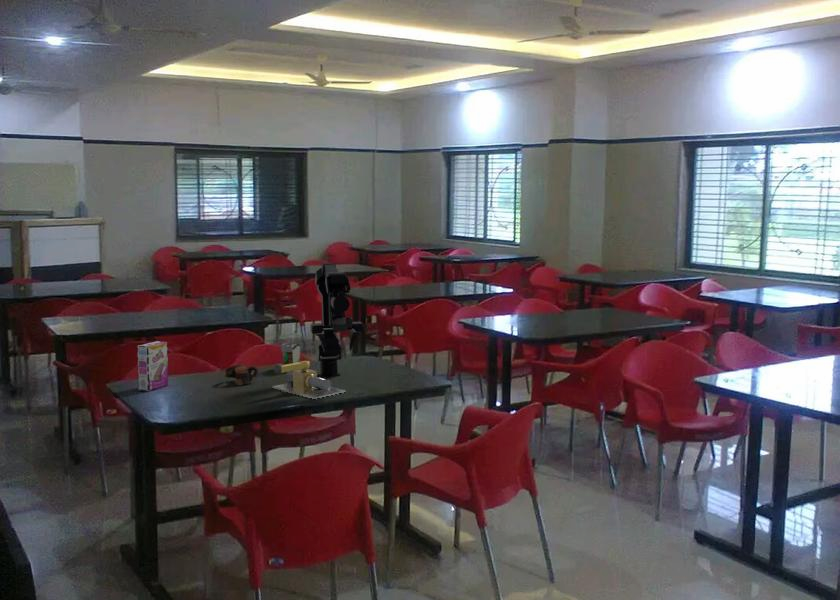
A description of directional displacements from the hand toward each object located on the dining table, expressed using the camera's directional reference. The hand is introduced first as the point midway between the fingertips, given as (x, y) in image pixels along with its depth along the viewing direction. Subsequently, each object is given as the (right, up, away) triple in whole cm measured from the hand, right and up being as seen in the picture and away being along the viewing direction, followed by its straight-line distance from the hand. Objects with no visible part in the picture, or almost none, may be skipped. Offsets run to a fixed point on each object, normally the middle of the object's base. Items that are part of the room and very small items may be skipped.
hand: (337, 351), depth 304 cm
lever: (-16, -6, -4) cm, 17 cm away
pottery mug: (-37, -13, +12) cm, 41 cm away
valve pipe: (-10, -14, -1) cm, 17 cm away
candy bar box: (-67, -14, +4) cm, 69 cm away
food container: (-23, -9, +36) cm, 44 cm away
